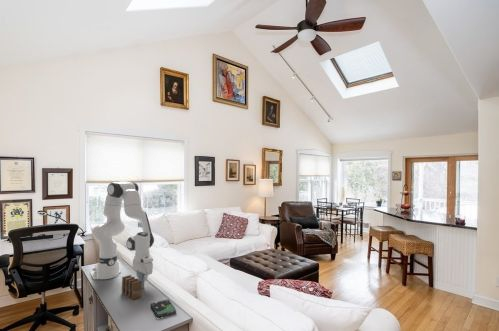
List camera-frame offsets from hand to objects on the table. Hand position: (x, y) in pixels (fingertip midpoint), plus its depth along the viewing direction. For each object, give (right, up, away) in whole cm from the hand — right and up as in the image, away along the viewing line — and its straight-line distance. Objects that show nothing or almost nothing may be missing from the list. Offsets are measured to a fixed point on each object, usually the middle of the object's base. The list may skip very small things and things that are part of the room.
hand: (141, 278), depth 177 cm
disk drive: (+24, -6, -30) cm, 39 cm away
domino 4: (+4, -5, -17) cm, 18 cm away
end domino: (0, -6, 0) cm, 6 cm away
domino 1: (-6, -5, -8) cm, 12 cm away
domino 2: (-3, -5, -11) cm, 13 cm away
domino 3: (0, -5, -14) cm, 15 cm away
